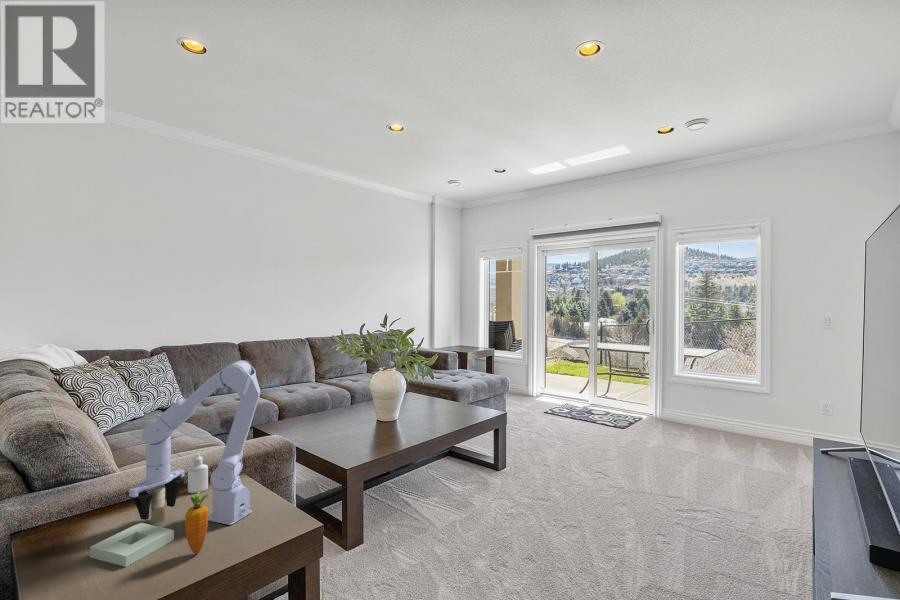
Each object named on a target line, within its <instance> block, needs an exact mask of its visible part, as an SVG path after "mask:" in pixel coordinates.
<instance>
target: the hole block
mask: <svg viewBox="0 0 900 600" xmlns="http://www.w3.org/2000/svg"><path fill="white" fill-rule="evenodd" d="M174 538H175V530H174V529H171V528H166V527H161V526H159V525H157V526H153V525H151V524H150V523H149V524H148V523H144V522H138V523H136V524H135V525H132V526H130V527H128V528H126V529H123V530H122V531H120V532H117V533H115V534H114V535H111V536H109V537H107V538H105V539H103V540H101V541H99V542H97V543H95V544H94V545H91V546H90V547H89V558H91V559H95V560H98V561H102V562H106V563H108V564H109V563H110V564H114V565H117V566H121V567H124V568H127V567H129V566H130V564H131V565H133V564H134V563H135V561H136V562H138V561H140V560H141V559H143V558H144V557H146V556H149V555H150V554H152V553H153V552H155V551H157V550H158V549H160V548H162V547H164V546H165V545H167V544H170V543H171V542H173V541H175V539H174ZM137 560H138V561H137ZM133 562H134V563H133Z"/></svg>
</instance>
